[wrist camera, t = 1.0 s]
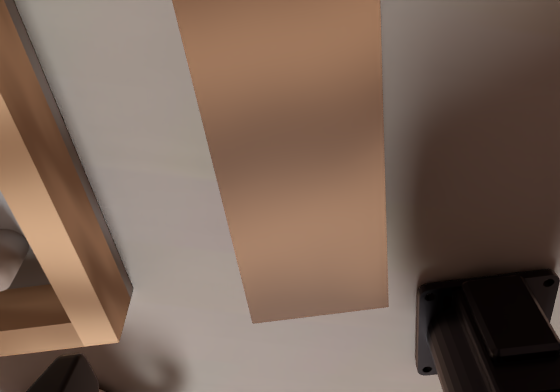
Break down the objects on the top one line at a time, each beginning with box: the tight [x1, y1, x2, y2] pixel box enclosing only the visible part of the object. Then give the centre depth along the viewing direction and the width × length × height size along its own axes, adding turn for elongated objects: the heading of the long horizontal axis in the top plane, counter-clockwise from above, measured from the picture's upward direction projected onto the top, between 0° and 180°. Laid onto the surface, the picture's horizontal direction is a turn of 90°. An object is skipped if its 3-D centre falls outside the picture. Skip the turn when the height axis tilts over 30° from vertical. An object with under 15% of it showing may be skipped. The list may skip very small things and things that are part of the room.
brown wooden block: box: [172, 0, 389, 324], centre depth 17 cm, size 14×5×5 cm, turn 8°
